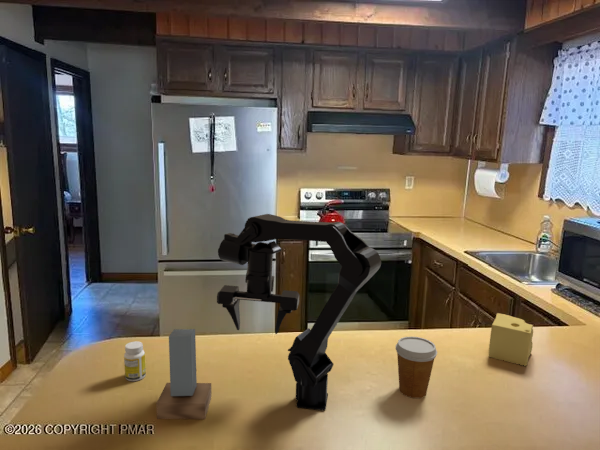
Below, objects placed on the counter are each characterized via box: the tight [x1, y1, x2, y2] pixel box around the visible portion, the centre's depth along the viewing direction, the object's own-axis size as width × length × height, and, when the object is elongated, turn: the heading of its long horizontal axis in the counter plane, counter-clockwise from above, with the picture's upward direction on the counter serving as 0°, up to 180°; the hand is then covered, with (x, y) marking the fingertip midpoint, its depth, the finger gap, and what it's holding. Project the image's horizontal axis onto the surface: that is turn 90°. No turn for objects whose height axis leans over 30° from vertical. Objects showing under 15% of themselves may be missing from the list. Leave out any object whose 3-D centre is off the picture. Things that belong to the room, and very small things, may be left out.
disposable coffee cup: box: [395, 336, 438, 399], centre depth 106 cm, size 10×10×12 cm
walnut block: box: [155, 382, 213, 420], centre depth 97 cm, size 10×8×4 cm
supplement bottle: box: [123, 340, 147, 382], centre depth 109 cm, size 5×5×8 cm
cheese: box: [488, 312, 534, 367], centre depth 126 cm, size 10×11×10 cm
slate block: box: [168, 328, 198, 396], centre depth 96 cm, size 5×5×13 cm
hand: (257, 331), depth 107 cm, fingers open, 9 cm apart
